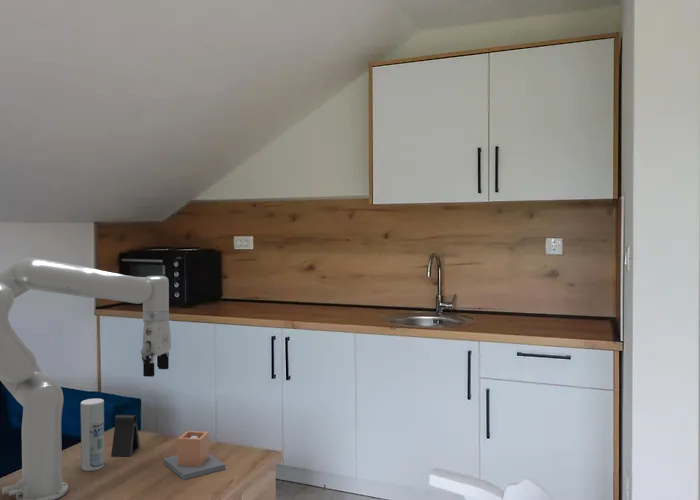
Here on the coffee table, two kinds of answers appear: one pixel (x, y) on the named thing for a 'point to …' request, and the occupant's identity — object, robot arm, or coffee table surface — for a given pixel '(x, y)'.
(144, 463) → the coffee table surface
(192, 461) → the sleeve
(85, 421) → the spray can
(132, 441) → the phone stand
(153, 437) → the coffee table surface
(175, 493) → the coffee table surface
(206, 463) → the peg on grey base
